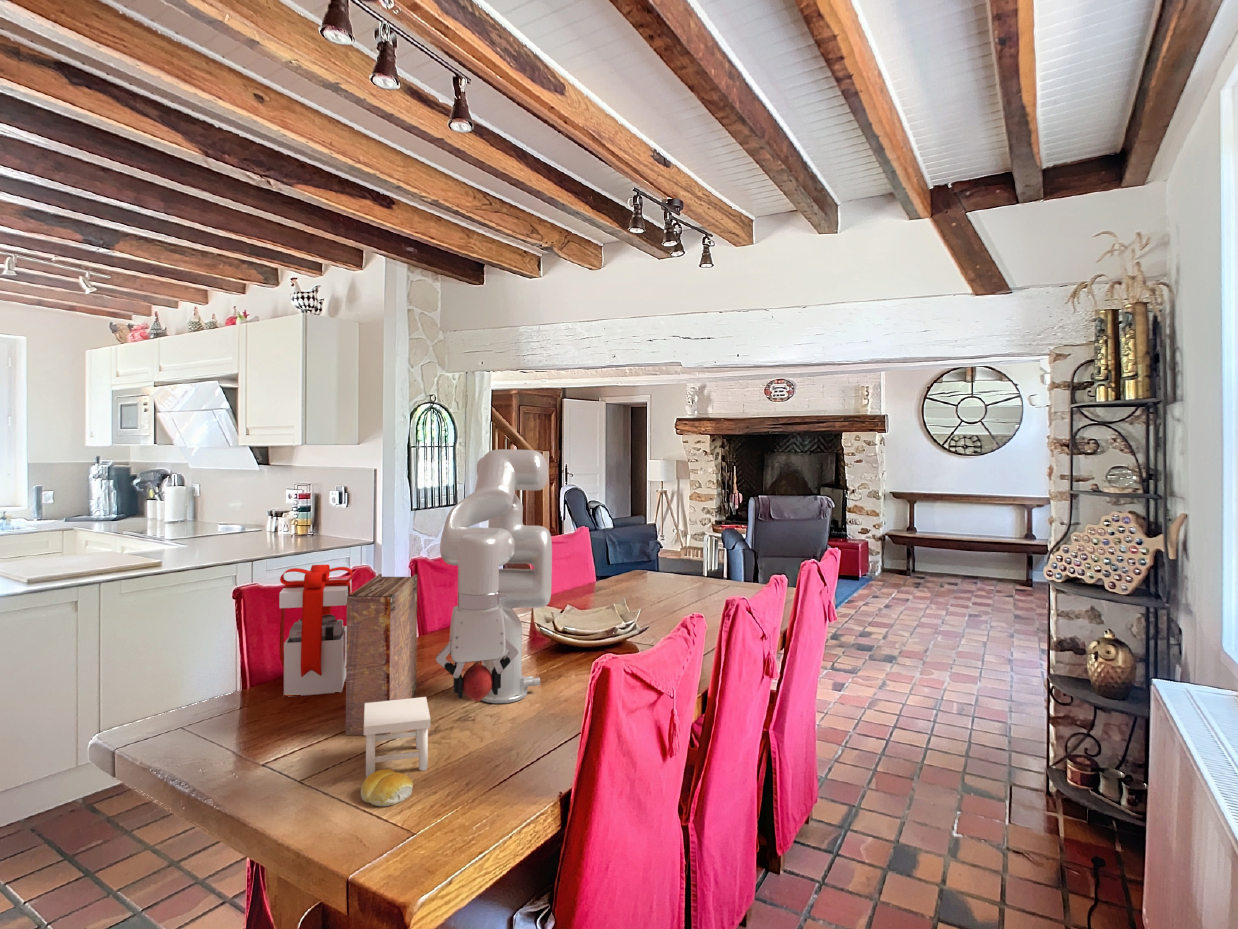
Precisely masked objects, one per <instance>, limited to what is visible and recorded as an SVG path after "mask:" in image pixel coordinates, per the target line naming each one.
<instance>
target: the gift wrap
mask: <svg viewBox="0 0 1238 929" xmlns="http://www.w3.org/2000/svg"><path fill="white" fill-rule="evenodd" d="M330 567H331V566H330V564H312V565H311V568H310V569H309V570H308V569H304V568H299V567H298V568H297V567H295V568H292V567H291V568H289V569H286V570H285V571H284V572H283V573H282V574H281V576H280V577H279V581H280V583H281V584H282V585H284V586H283V587H282V590H281V591H280V592H279V596H278V598H279V605H278V606H279V609H281V610H280V612H281V613H280V614H281V615H280V623H279V624H280V625H279V626H280V627H279V645H278V646H279V659H280V664H281V666H282V669H283V696H284V695H301V696H312V695H325V694H334V693H335V692H339V693H343V690H344V686H345V683H346V636H347V625H344V620H343V619H336V618H337V617H336V616H335V615H333V614H332V607H337V606H347V596H349V595H350V594H351V593H352V578H353V576H354V572H353V570H352V569H351V568H350V567H347V566H337V567H332V568H330ZM336 571H345V572H348V573H349V575H350V577H349V578H331V577H330V573H331V572H336ZM292 572H293V573H296V572H297V573H300V574H304V578H303V579H302V580H301V579H298V580H297V579H296V580H294V579H293V580H290V581H289V580H286V579H285V574H287V573H292ZM292 608H294V609H295V608H302V609H301V610H302V611H301V618H300V619H298V621H295V622H294V623H293V625H292V626H291V628H290V629H289V635H288V637H287V638H286V640H285V639H284V638H285V611H286V609H292ZM284 640H285V641H284ZM344 682H345V683H344ZM335 694H336V693H335Z"/></svg>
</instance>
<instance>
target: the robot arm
mask: <svg viewBox="0 0 1238 929" xmlns="http://www.w3.org/2000/svg"><path fill="white" fill-rule="evenodd" d="M476 475H477V479H476V482H475V488H474V492H472V493H471V494H469V495H467V496H465V498H463V499H461V500H460V501H459V502H458V503H457V504H455V505H454V506H453V507H452V508H451V509H450V510H449V512H448V514H447V516H446V519H445V521H444V524H443V528H442V532H441V537H440V543H439V552H440V557H441V559H442V560H443V561H444V562H445V564H447V565H451V566H457V605H456V606H454V607H452V608H453V609H452V611H451V612H452V613H451V619H450V628H449V641H448V643H447V644H445V646H444V647H443V648H442V649H441V650H440V651H439V653H438V654H436V656H435V661H436V663H437V664H439V665H440V666H442V667H443V668H444V669H445V670H446V671H447V672H448V673H449V674H450V675H451V676H453V694H456V696H457V699H458V700H461V699H463V696H464V695H463V693H464V692H463V676H462V671H463V669H464V666H465V664H469V663H475V662H480V661H482V665H483V666H485V667H486V668H487V669H488V670H489V671H490V673H491V675H492V678H493V686H492V689H491V691H490V692H489V693H488V694H487V695H486V696H485V697H484V698H483V699H482V700H481V701H482V702H484V703H489V704H509V703H514V702H518V701H521V700H522V699H524V698H526V696H527V695H528V687H531V686H533V687H535V686H536V687H537V686H541V678H540V677H534V676H533V675H528V676H524V675H523V673H522V659H523V658H522V655H523V652H522V651H523V649H522V648H523V625H522V621H521V618H520V616H518V614H517V613H516V611H515V610H514V609H517V608H519V609H522V608H523V609H524V608H527V609H537V608H538V609H540V608H544V607H547V606H548V605H549V603H550V601H551V597H552V587H553V586H552V584H553V582H552V579H553V578H552V574H553V571H552V570H553V566H552V565H553V543H552V542H553V541H552V534H551V532H550V531H549V529H548V528H547V527H545V526H543V525H542V526H541V525H527V524H526V525H525V524H524V522H523V514H524V513H523V512H524V505H523V503H522V502H521V500H520V498H519V497H518V495H517V494H516V493H515V491H542V490H543V489H544V488H545V487H546V485H547V483H548V480H549V479H548V478H549V467H548V463H547V460H546V458H545V457H544V455H543V454H542V453H541V452H540V451H537V450H532V449H509V448H508V449H506V448H505V449H504V448H503V449H502V448H501V449H492V450H490V451H488V452H486V453H485V454H484V455H483V456H482V457H481V458H479V459H478V461H477V464H476ZM486 521H487V522H488V523H487V527H479V526H477V527H476V526H474V525H477V524H480V523H483V522H486ZM473 526H474V527H473ZM506 564H525V565H526V564H528V565H531V566H532V567H533V568H500V567H503V566H504V565H506ZM448 655H450V657H451V660H452V661H453V662H454V663H452V662H451V661H450V660H448V659H446V658H447V657H448Z"/></svg>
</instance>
